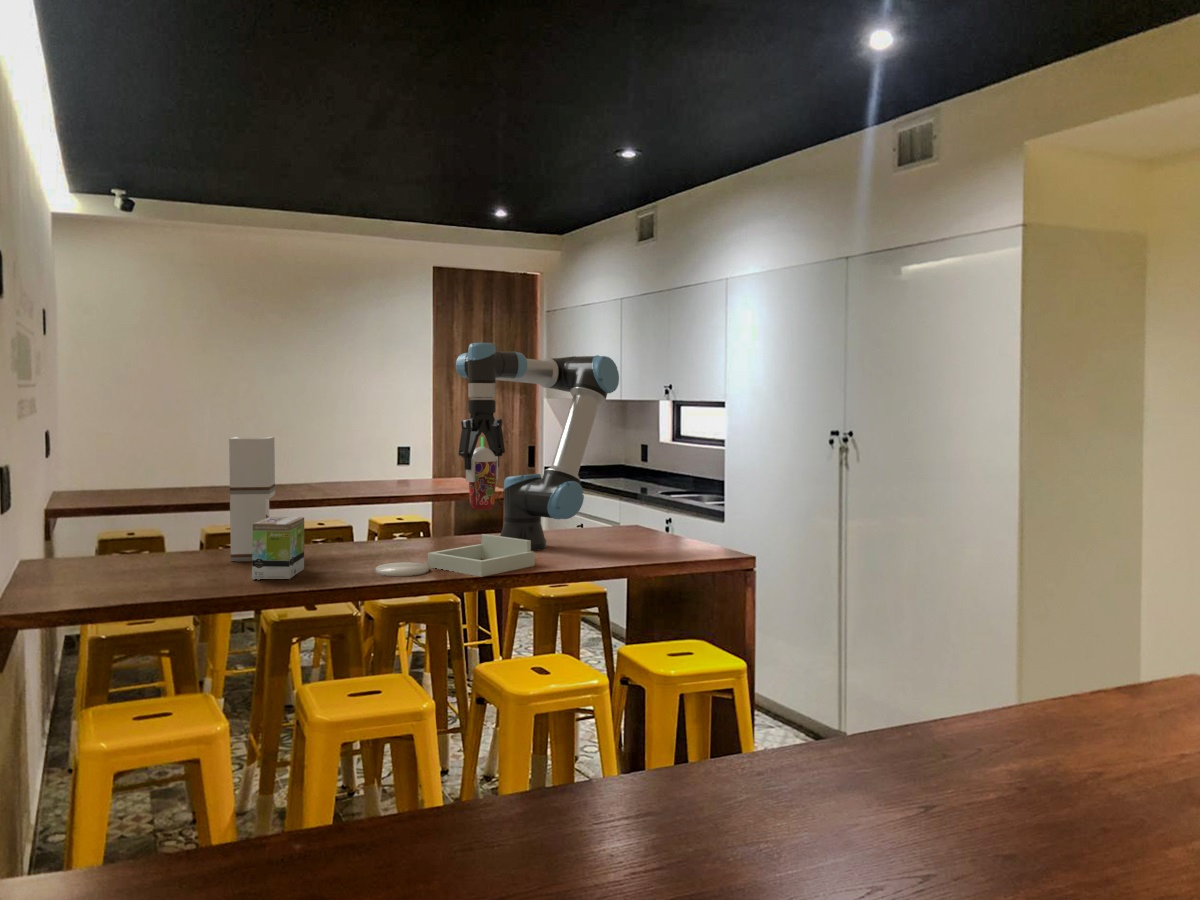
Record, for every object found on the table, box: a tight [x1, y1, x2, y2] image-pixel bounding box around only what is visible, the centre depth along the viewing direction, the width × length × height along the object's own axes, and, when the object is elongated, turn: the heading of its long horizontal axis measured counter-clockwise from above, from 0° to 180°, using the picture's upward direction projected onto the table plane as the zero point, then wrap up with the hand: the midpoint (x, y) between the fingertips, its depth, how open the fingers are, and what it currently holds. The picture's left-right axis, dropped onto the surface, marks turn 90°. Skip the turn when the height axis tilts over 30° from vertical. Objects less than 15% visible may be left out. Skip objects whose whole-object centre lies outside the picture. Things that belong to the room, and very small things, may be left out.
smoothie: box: [468, 436, 497, 511], centre depth 258 cm, size 8×8×20 cm
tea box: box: [251, 516, 305, 581], centre depth 244 cm, size 15×10×15 cm
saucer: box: [375, 561, 430, 577], centre depth 251 cm, size 14×14×1 cm
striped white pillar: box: [228, 436, 276, 562], centre depth 269 cm, size 11×11×35 cm
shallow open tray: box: [427, 533, 536, 578], centre depth 259 cm, size 21×21×7 cm
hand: (482, 480), depth 258 cm, fingers closed on smoothie, 8 cm apart
